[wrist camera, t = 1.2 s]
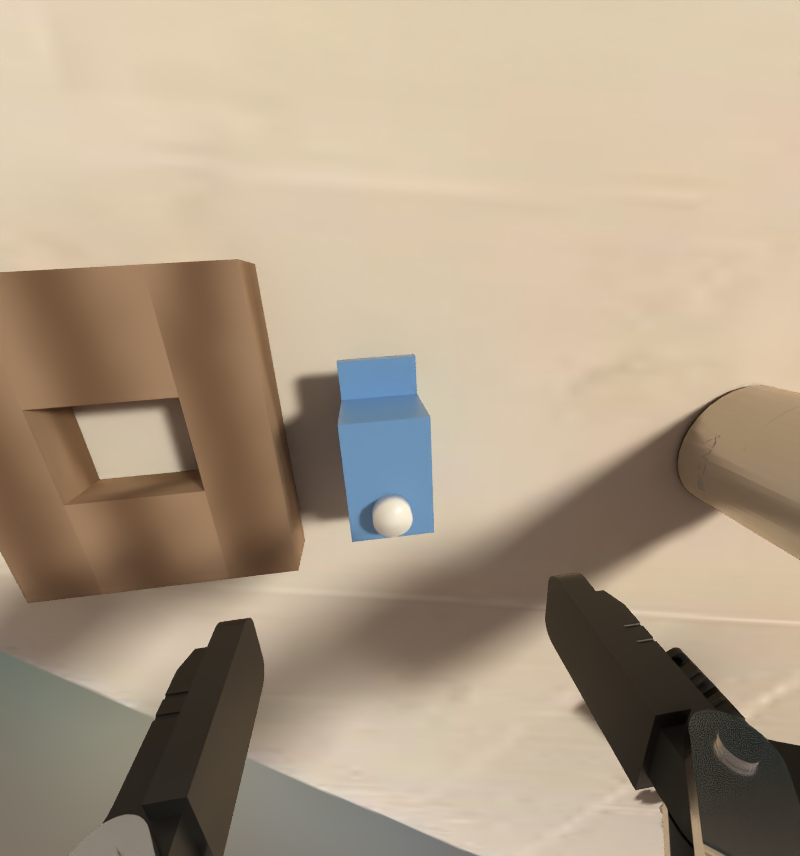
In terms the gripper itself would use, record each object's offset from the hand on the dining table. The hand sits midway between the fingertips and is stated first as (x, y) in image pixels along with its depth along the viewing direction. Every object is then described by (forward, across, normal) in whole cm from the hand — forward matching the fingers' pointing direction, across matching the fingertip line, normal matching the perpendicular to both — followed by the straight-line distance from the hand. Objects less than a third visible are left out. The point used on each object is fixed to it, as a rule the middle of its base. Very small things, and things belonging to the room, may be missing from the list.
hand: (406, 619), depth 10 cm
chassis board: (+15, +14, -1) cm, 20 cm away
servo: (+15, 0, 0) cm, 15 cm away
